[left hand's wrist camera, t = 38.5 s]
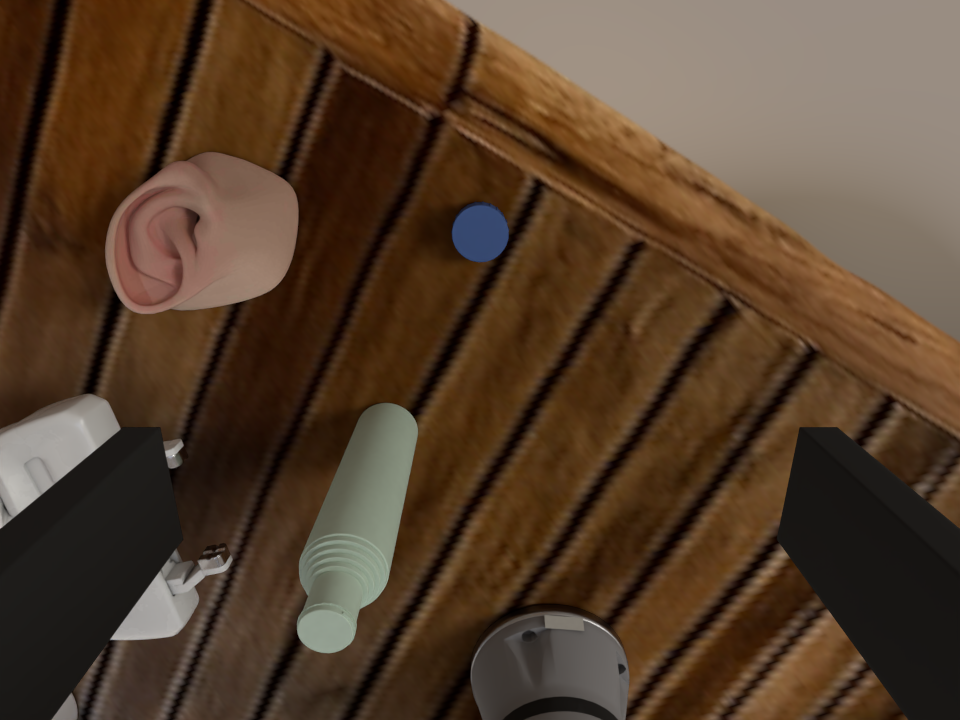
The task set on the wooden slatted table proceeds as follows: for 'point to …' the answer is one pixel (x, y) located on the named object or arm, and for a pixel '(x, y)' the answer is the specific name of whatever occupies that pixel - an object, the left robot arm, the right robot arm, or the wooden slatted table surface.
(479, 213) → the cap
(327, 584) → the bottle
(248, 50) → the wooden slatted table surface
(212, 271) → the anatomical model
